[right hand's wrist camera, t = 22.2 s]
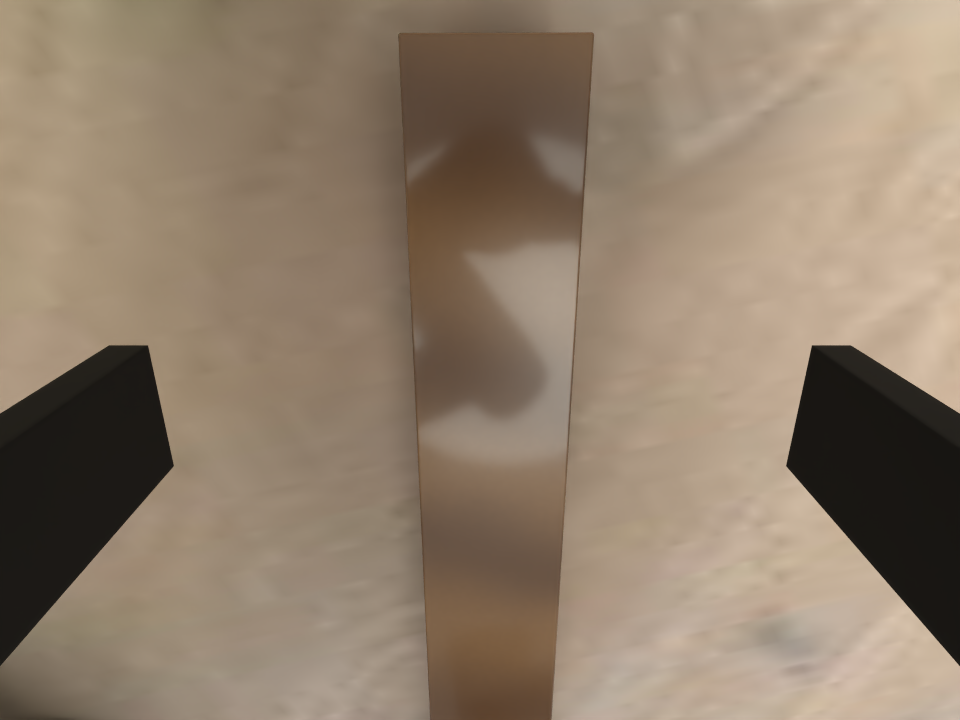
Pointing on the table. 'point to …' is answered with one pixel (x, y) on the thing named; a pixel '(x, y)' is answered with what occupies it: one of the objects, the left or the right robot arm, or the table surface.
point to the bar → (493, 349)
